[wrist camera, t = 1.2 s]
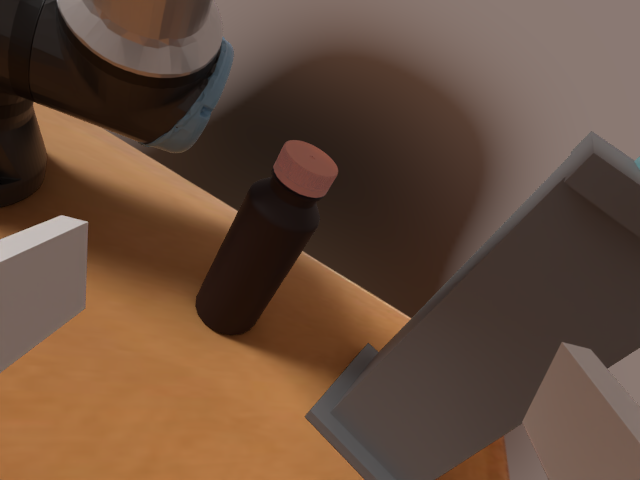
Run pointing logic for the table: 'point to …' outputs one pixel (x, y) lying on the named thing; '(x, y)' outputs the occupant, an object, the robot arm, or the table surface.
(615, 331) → the shelf stand
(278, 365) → the table surface
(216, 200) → the table surface
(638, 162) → the beige teal square bar
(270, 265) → the bottle
